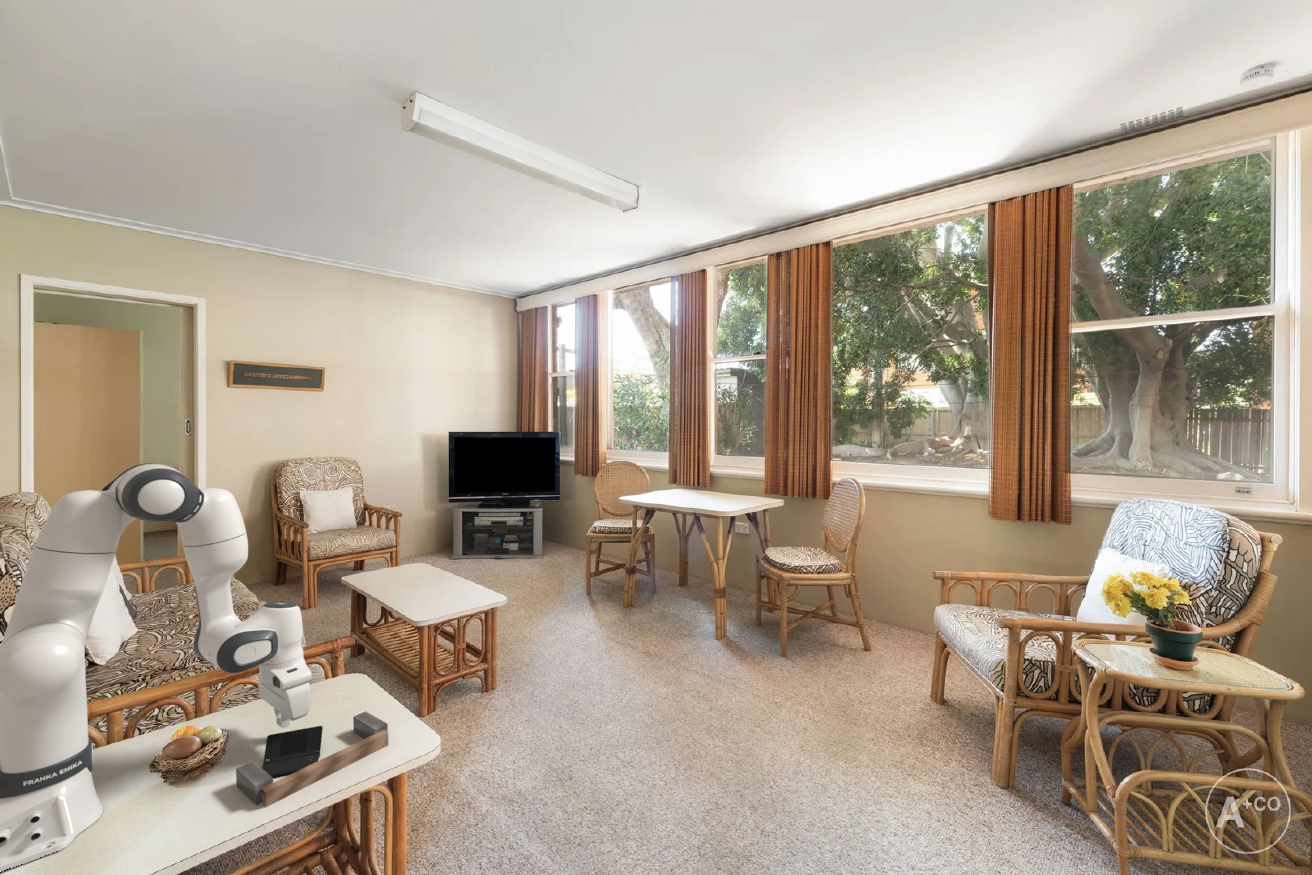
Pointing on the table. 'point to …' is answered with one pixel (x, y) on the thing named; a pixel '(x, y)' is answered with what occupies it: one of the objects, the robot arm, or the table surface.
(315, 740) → the handheld gaming console
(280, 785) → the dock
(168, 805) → the table surface
